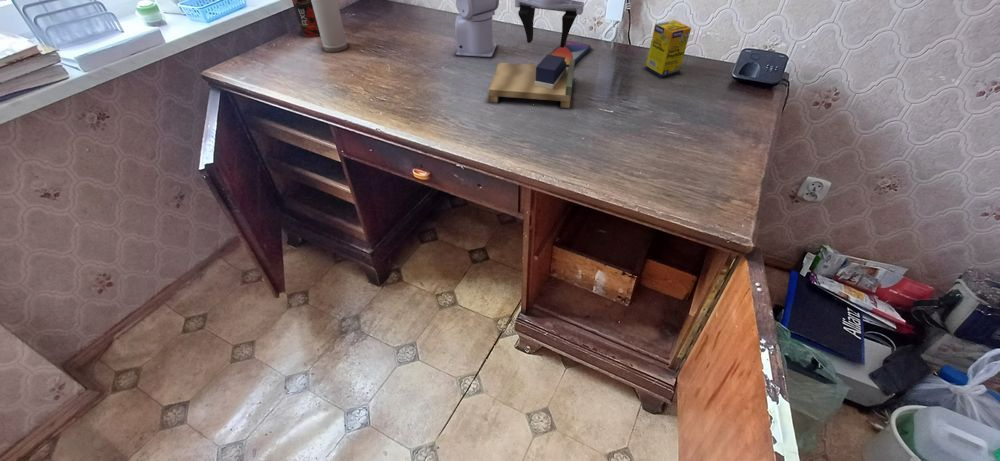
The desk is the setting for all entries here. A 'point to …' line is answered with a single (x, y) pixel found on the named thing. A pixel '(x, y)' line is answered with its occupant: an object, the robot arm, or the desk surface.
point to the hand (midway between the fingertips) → (546, 43)
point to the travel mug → (330, 25)
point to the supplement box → (667, 48)
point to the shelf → (529, 84)
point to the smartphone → (571, 51)
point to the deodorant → (306, 18)
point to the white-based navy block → (550, 71)
